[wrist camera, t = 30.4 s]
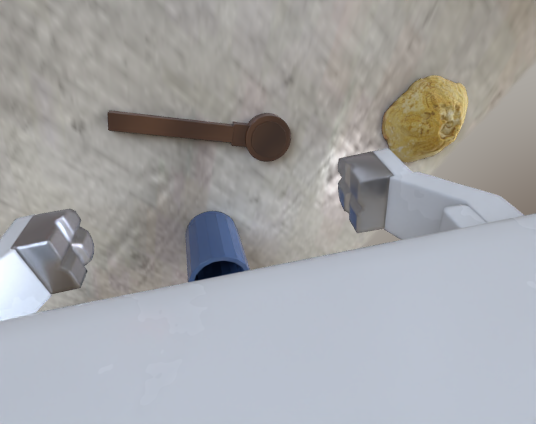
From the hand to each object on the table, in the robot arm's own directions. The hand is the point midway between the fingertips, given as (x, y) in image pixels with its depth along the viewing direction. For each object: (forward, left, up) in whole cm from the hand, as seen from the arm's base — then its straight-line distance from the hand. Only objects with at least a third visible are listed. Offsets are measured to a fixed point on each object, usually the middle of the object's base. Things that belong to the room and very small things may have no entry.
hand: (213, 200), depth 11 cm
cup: (+17, -7, -28) cm, 33 cm away
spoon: (+5, -1, -28) cm, 28 cm away
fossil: (+16, +24, -28) cm, 40 cm away
